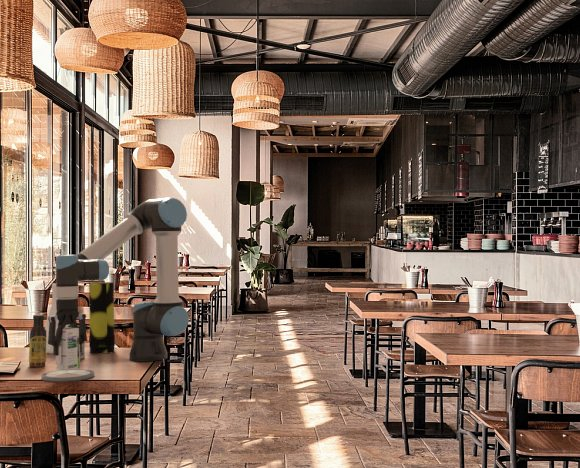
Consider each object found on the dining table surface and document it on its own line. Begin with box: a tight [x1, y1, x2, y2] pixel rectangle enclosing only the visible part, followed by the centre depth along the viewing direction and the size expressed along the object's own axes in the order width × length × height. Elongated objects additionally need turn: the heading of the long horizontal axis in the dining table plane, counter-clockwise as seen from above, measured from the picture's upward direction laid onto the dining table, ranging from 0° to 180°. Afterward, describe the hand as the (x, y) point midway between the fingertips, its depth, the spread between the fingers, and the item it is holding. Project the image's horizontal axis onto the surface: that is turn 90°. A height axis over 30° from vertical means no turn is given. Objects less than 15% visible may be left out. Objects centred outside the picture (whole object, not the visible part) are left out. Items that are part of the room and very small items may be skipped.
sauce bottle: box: [28, 314, 47, 368], centre depth 295 cm, size 6×6×20 cm
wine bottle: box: [44, 282, 69, 355], centre depth 332 cm, size 10×10×30 cm
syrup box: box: [56, 326, 81, 371], centre depth 270 cm, size 6×6×14 cm
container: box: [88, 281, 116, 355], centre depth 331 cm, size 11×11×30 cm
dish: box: [41, 368, 95, 383], centre depth 270 cm, size 18×18×1 cm
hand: (67, 363), depth 270 cm, fingers closed on syrup box, 6 cm apart
